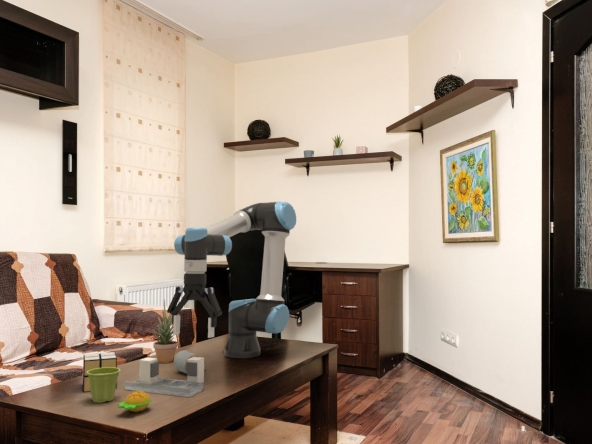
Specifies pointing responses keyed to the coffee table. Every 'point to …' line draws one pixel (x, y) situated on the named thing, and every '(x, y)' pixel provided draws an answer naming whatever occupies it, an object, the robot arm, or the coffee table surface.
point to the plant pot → (103, 383)
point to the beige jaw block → (195, 369)
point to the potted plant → (165, 340)
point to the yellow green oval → (136, 401)
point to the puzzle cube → (96, 365)
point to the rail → (167, 387)
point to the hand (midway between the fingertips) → (193, 335)
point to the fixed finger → (148, 370)
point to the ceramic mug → (183, 360)
